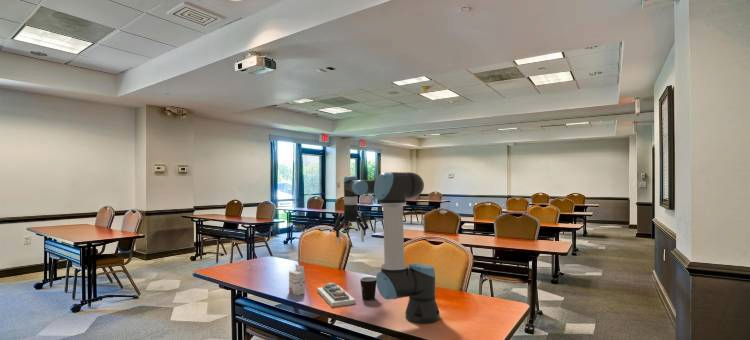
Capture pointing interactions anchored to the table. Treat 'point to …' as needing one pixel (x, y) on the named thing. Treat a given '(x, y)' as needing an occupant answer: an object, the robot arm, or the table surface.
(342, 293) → the clay button
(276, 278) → the table surface
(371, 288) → the coffee mug
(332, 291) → the slate button
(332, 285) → the sage button
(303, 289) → the ink cartridge box
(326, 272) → the table surface
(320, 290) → the button panel
